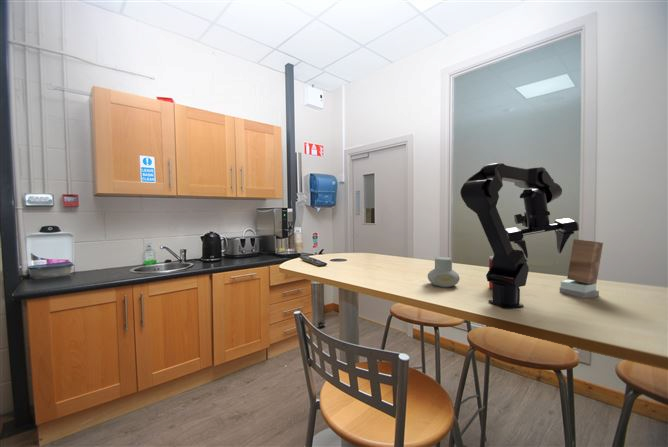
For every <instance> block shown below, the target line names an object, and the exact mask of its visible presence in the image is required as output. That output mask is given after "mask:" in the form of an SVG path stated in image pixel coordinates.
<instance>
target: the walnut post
mask: <svg viewBox="0 0 668 447" xmlns="http://www.w3.org/2000/svg"><path fill="white" fill-rule="evenodd" d="M572 240H573V241H572V242H573V243H572V248H571V254H570V259H569V265H568V271H567V272H568V273H567V277H566V280H574V281H579V282H583V283H588V284H596V285H597V281H598V277H599V276H598V275H599V270H600V264H601V258H602V253H603V245H604V242H599V241H593V240H584V239H575V238H573V239H572Z"/></svg>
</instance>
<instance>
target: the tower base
mask: <svg viewBox="0 0 668 447" xmlns="http://www.w3.org/2000/svg"><path fill="white" fill-rule="evenodd" d="M559 293H561V294H565V295H569V296H573V297H577V298H580V299H587V298H593V297H599V294H600V290H597V289H596V290H595V291H591V292H587V293H582V292H578V291H573V290H568V289H563V288H561V286H560V287H559Z"/></svg>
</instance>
